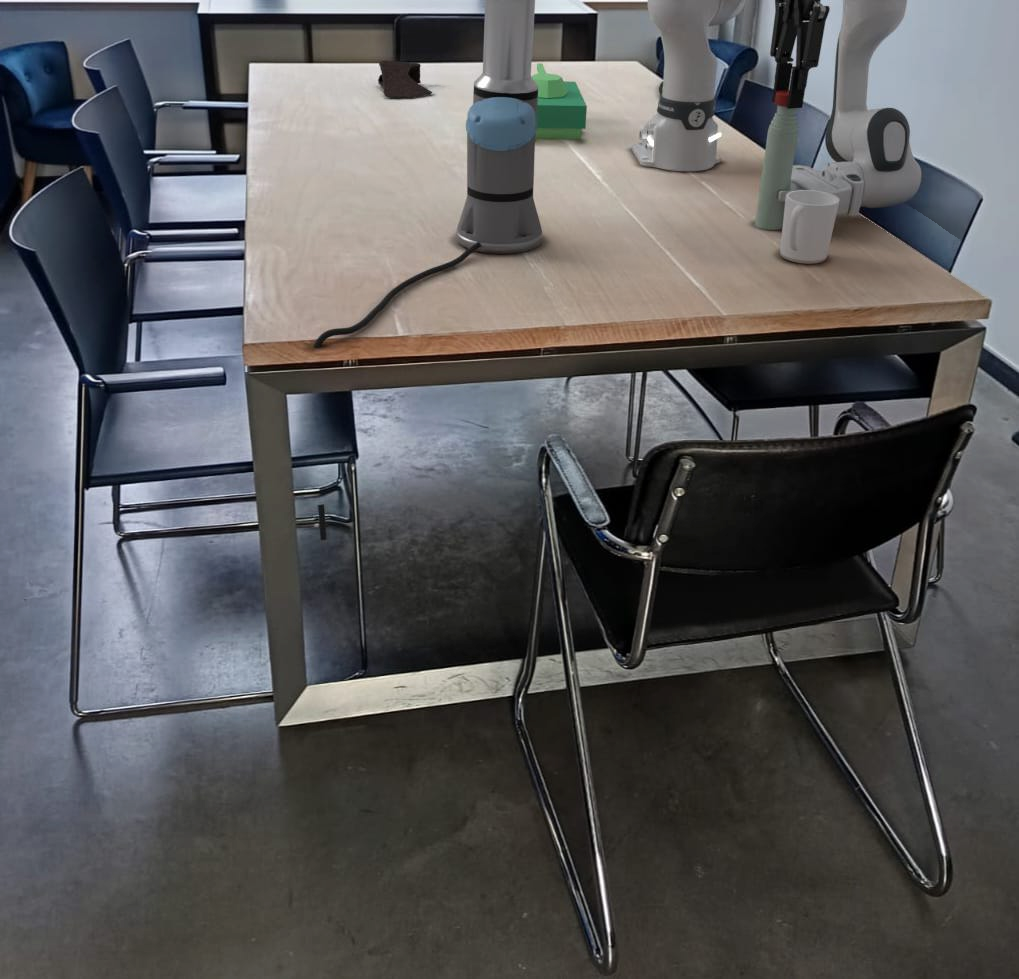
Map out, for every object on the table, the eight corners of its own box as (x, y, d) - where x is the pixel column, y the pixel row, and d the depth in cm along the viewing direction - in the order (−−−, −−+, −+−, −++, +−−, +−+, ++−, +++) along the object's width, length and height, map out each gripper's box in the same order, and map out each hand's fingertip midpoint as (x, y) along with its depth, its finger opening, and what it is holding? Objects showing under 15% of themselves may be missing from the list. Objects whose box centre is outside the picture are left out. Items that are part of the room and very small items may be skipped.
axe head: (443, 87, 294) (392, 77, 287) (436, 115, 299) (385, 106, 292) (421, 62, 307) (371, 52, 300) (414, 89, 311) (365, 80, 304)
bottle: (762, 230, 204) (780, 101, 191) (750, 221, 208) (767, 94, 196) (788, 229, 205) (808, 100, 192) (776, 220, 209) (794, 94, 197)
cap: (792, 108, 192) (794, 96, 191) (769, 104, 194) (771, 92, 193) (804, 104, 195) (805, 92, 194) (781, 100, 197) (783, 89, 196)
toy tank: (573, 59, 279) (587, 89, 249) (570, 109, 285) (584, 143, 255) (503, 58, 278) (510, 87, 248) (502, 108, 284) (508, 142, 254)
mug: (791, 244, 197) (800, 186, 191) (837, 255, 192) (848, 197, 187) (762, 259, 190) (770, 200, 184) (809, 271, 185) (819, 211, 179)
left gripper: (761, -46, 188) (743, 95, 201) (817, -34, 174) (794, 116, 187) (799, -46, 191) (779, 93, 203) (857, -35, 177) (832, 114, 189)
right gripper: (813, 155, 213) (748, 158, 209) (868, 184, 196) (798, 188, 193) (808, 187, 216) (743, 191, 213) (861, 219, 199) (792, 223, 196)
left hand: (786, 104), depth 195 cm, fingers closed on cap, 4 cm apart
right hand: (770, 190), depth 203 cm, fingers closed on bottle, 5 cm apart
